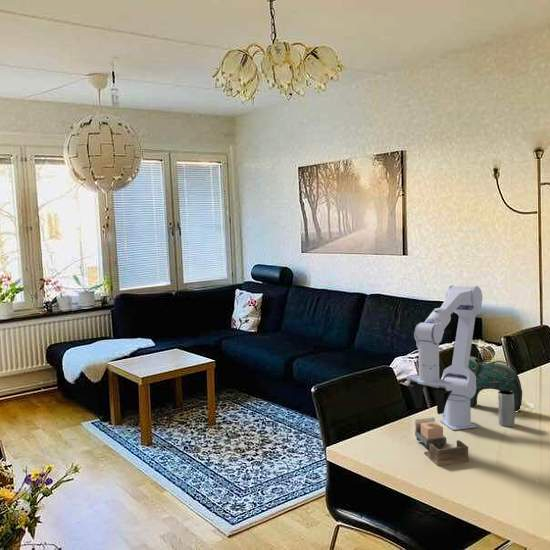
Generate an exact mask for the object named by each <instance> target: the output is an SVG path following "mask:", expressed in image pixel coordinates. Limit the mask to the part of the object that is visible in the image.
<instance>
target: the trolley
mask: <svg viewBox="0 0 550 550" xmlns="http://www.w3.org/2000/svg"><path fill="white" fill-rule="evenodd" d="M414 436H415V438H416V441H419V442H422V443H423V444H424V447H425V448H426V449H429V444H433V445H434V446H435V445H439V446H440V447H442V448H443V447H445V446H446V444H447V437H446V436H445V435H444V427H443V426H442V425H440V424H439V423H438V422H437V421H436V418H435V417H425V418H424V417H423V418H417V419H414Z"/></svg>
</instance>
